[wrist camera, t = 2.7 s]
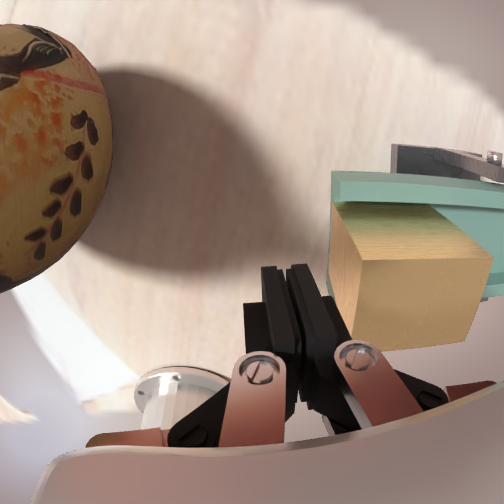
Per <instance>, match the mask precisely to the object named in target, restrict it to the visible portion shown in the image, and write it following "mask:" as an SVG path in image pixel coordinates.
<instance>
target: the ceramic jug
mask: <svg viewBox="0 0 504 504" xmlns="http://www.w3.org/2000/svg"><path fill="white" fill-rule="evenodd" d="M112 159H113V130H112V118H111V112H110V107H109V101H108V98H107V95H106V92H105V89H104V86H103V83H102V81H101V79H100V77H99V75H98V73H97V71H96V69H95V68H94V67H93V66H92V65H91V63H90V62H89V61H88V60H87V59H86V57H85V56H84V55H83V54H82V53H81V52H80V51H79V50H78V49H77V48H76V47H75V46H74V45H73V44H72V43H71V42H69V41H67V40H65V39H64V38H62V37H60V36H58V35H57V34H55V33H53V32H51V31H48V30H46V29H43V28H41V27H38V26H31V25H25V24H23V25H18V24H5V25H0V293H3V292H5V291H7V290H10V289H12V288H14V287H16V286H18V285H20V284H22V283H24V282H27V281H29V280H31V279H32V278H34V277H36V276H37V275H39V274H41V273H42V272H44V271H45V270H46V269H48V268H49V267H50V266H52V265H53V264H54V263H56V262H57V261H59V260H60V259H61V258H62V257H63V256H64V255H65V254H66V253H67V252H68V251H69V250H70V249H71V248H72V246H73V245H74V244H75V243H76V242H77V241H78V239H79V238H80V237H81V235H82V234H83V233H84V231H85V230H86V228H87V227H88V225H89V224H90V222H91V220H92V219H93V217H94V215H95V213H96V211H97V208H98V206H99V204H100V202H101V200H102V197H103V195H104V192H105V190H106V187H107V184H108V179H109V174H110V170H111V165H112Z"/></svg>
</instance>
